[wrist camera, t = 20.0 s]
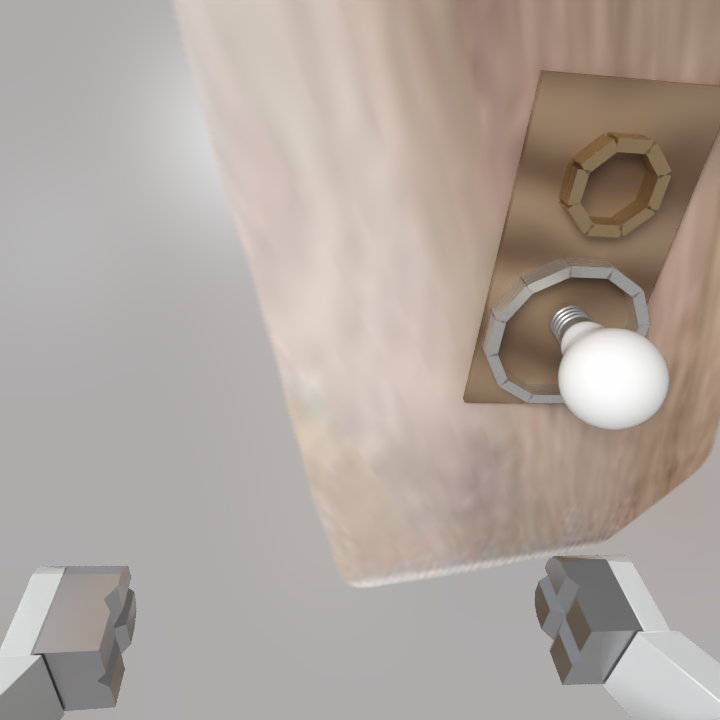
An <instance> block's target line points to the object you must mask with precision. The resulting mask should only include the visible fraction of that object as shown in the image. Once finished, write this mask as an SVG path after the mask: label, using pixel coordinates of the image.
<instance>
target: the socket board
mask: <svg viewBox="0 0 720 720" xmlns="http://www.w3.org/2000/svg"><path fill="white" fill-rule="evenodd" d="M719 127H720V86H712V85H701V84H689V83H678V82H667V81H656V80H644V79H633V78H622V77H611V76H599V75H588V74H577V73H565V72H554V71H543V70H541V73H540V77H539V81H538V86H537V90H536V94H535V98H534V102H533V107H532V111H531V115H530V119H529V123H528V128H527V132H526V136H525V140H524V145H523V149H522V153H521V157H520V161H519V166H518V170H517V174H516V178H515V182H514V187H513V191H512V195H511V199H510V204H509V208H508V212H507V216H506V220H505V225H504V229H503V233H502V237H501V241H500V246H499V250H498V254H497V258H496V263H495V267H494V271H493V275H492V279H491V284H490V288H489V292H488V296H487V300H486V305H485V309H484V313H483V317H482V322H481V326H480V330H479V334H478V338H477V343H476V347H475V351H474V355H473V359H472V364H471V368H470V372H469V376H468V381H467V385H466V389H465V393H464V397H463V399H464V402H472V403H553V404H565V402H564V400H563V398H562V396H561V394H560V390H559V385H558V371H559V366H560V362H561V359H562V357H563V356H562V353H561V344H560V343H559V341H558V340H557V339H556V337H555V336H554V334H553V333H552V331H551V330H550V327H549V322H550V319H551V317H552V315H553V314H554V313H555V312H556V311H557V310H558V309H559V308H561V307H563V306H566V305H578V306H580V307H582V308H583V309H584V311H585V312H586V313H587V314H588V315H589V317H590V318H591V319H592V320H593V321H594V322H595V323H598V324H600V325H602V326H604V327H605V328H622V329H627V330H631V331H634V332H636V333H638V334H641V335H642V336H644V337H645V335H646V333H647V331H648V328H649V326H650V321H649V315H648V310H647V305H646V304H647V302H648V300H649V297H650V295H651V292H652V290H653V287H654V285H655V283H656V280H657V278H658V275H659V273H660V270H661V268H662V266H663V263H664V261H665V258H666V256H667V253H668V251H669V249H670V246H671V244H672V241H673V239H674V236H675V234H676V232H677V229H678V227H679V224H680V222H681V220H682V217H683V215H684V212H685V210H686V207H687V205H688V203H689V200H690V198H691V195H692V193H693V190H694V188H695V186H696V183H697V181H698V178H699V176H700V173H701V171H702V169H703V166H704V164H705V161H706V159H707V156H708V154H709V152H710V149H711V147H712V144H713V142H714V139H715V137H716V135H717V132H718V130H719Z"/></svg>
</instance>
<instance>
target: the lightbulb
mask: <svg viewBox="0 0 720 720" xmlns="http://www.w3.org/2000/svg"><path fill="white" fill-rule="evenodd" d="M549 327H550V330H551V331H552V333H553V334H554V336H555V337H556V339H557V340H558V341H559V343H560V344H561V353H562V356H563V357H562V359H561V362H560V366H559V371H558V385H559V390H560V394H561V396H562V398H563V400H564V402H565V404H566V405H567V407H568V408H569V409H570V411H571V412H572V413H573V414H574V415H575V416H576V417H578V418H579V419H580V420H582V421H584V422H585V423H587V424H589V425H591V426H594V427H597V428H601V429H606V430H623V429H628V428H632V427H635V426H637V425H640V424H642V423H644V422H645V421H647V420H648V419H650V418H651V417H652V416H653V415H654V414H655V413H656V412H657V411H658V410H659V409H660V407H661V406H662V404H663V402H664V401H665V398H666V396H667V393H668V389H669V371H668V367H667V364H666V361H665V359H664V357H663V355H662V353H661V352H660V351H659V349H658V348H657V347H656V346H655V345H654V344H653V343H652V342H651V341H650V340H648V339H647V338H646V337H644V336H642V335H641V334H638V333H636V332H634V331H631V330H627V329H622V328H605V327H604V326H602V325H600V324H598V323H595V322H594V321H593V320H592V319H591V318H590V317H589V315H588V314H587V313H586V312H585V311H584V309H583V308H582V307H580V306H578V305H566V306H563V307H561V308H559V309H558V310H557V311H556V312H555V313H554V314H553V315H552V317H551V319H550V322H549Z"/></svg>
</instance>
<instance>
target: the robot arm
mask: <svg viewBox="0 0 720 720" xmlns="http://www.w3.org/2000/svg"><path fill="white" fill-rule="evenodd" d="M545 569H546V572H547V574H548V575H547V576H546V577H545V578H543V579H542V580H540V581H539V583H538V586H537V588H536V591H535V608H536V613H537V617H538V620H539V623H540V626H541V629H542V630H543V631H544V632H546V634H547V635H549V636H550V637H551V638H552V639H553V642H552V645H551V648H550V653H551V655H552V658H553V661H554V664H555V666H556V669H557V672H558V674H559V677H560V680H561V682H562V684H563V685H570V684H604V687H605V688H606V690H607V691H608V692H609V693H610V694H611V695H612V696H613V697H614V698H615V699H616V700H617V702H618V703H619V704H620V705H621V706H622V707H623V708H624V709H625V710H626V711H627V712H628V714H629V715H630V716H631V717H632V718H633V719H634V720H720V663H718V662H717V661H716V660H715V659H713V658H712V657H711V656H709V655H708V654H707V653H706V652H704V651H703V650H702V649H700V648H699V647H698V646H697V645H696V644H694V643H693V642H692V641H691V640H689V639H688V638H687V637H685V636H684V635H683V634H682V633H680V632H679V631H678V630H670V629H669V627H668V625H667V623H666V621H665V620H664V618H663V616H662V615H661V613H660V611H659V609H658V607H657V606H656V604H655V602H654V600H653V599H652V597H651V595H650V593H649V592H648V590H647V588H646V587H645V585H644V583H643V581H642V579H641V578H640V576H639V574H638V572H637V571H636V569H635V567H634V565H633V564H632V562H631V560H630V559H629V558H627V557H626V556H625V555H604V556H599V555H583V556H582V555H580V556H554V557H552V558H550V559H549V560H548V562H547V564H546V566H545ZM130 580H131V575H130V571H129V567H128V566H50V567H39V568H38V569H37V570H36V572H35V573H34V574H33V575H32V577H31V579H30V582H29V584H28V586H27V589H26V591H25V593H24V595H23V598H22V600H21V602H20V605H19V607H18V609H17V612H16V614H15V616H14V618H13V621H12V623H11V626H10V628H9V630H8V632H7V635H6V637H5V639H4V642H3V644H2V646H1V649H0V720H60V719H61V718H62V717H63V716H64V711H71V710H83V709H97V708H109V707H115V706H116V702H117V698H118V694H119V690H120V686H121V682H122V678H123V674H124V670H125V668H124V664H123V659H122V655H121V654H122V653H123V652H124V651H125V650H126V649H127V648H128V647H129V645H130V644H131V641H132V636H133V632H134V626H135V618H136V599H135V594H134V592H133V591H132V590H131V589H129V588H128V587H129V584H130Z"/></svg>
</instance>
